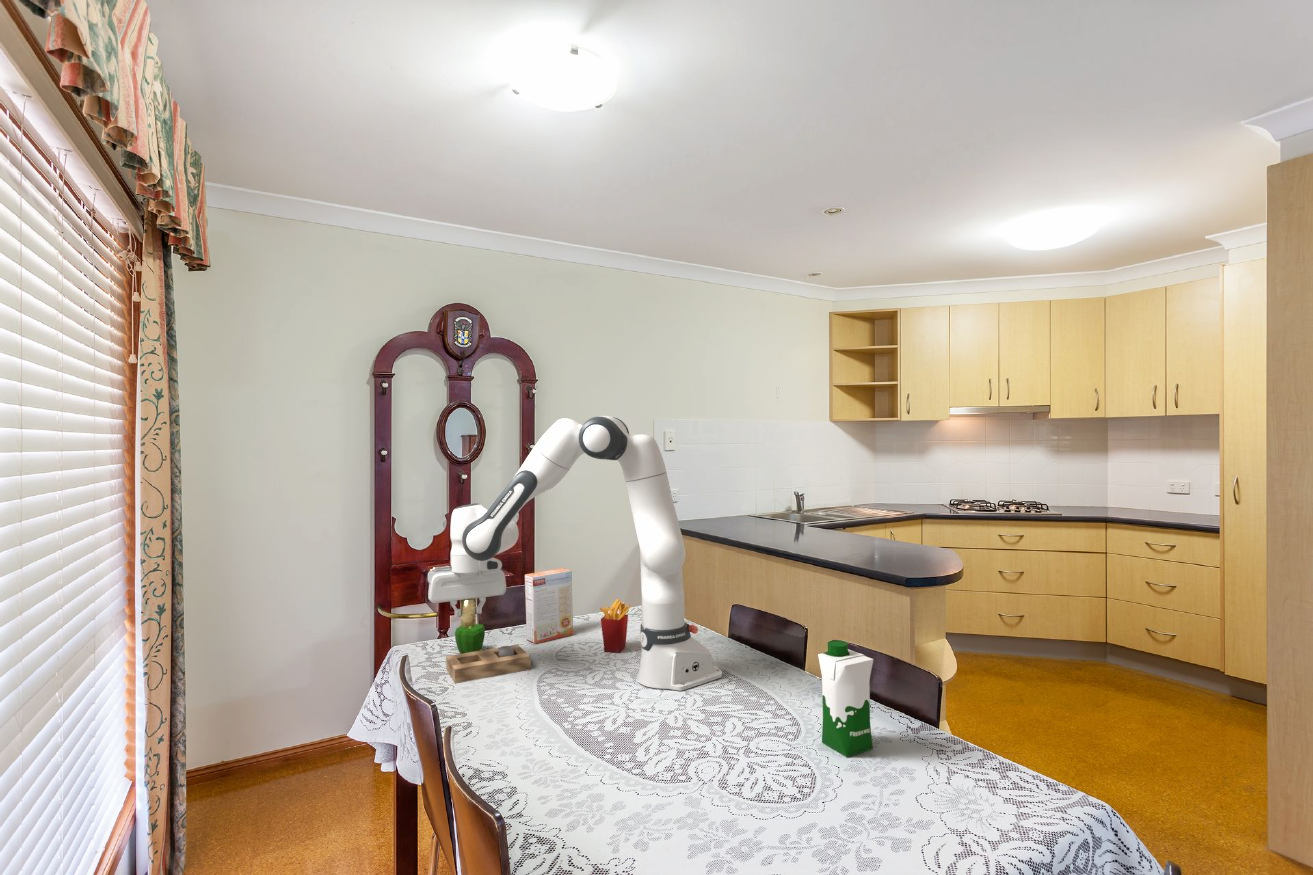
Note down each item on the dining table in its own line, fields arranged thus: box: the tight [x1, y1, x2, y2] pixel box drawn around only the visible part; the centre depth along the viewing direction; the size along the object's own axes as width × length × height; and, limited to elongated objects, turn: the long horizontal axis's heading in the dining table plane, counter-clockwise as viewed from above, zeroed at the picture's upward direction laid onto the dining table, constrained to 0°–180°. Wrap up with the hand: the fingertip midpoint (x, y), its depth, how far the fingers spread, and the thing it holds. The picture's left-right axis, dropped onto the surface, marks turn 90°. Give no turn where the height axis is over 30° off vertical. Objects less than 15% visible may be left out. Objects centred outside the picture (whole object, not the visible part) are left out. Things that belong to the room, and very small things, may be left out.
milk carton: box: [817, 640, 874, 758], centre depth 132 cm, size 9×9×20 cm
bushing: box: [459, 598, 477, 627], centre depth 178 cm, size 4×4×7 cm
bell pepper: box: [454, 623, 486, 654], centre depth 194 cm, size 8×8×10 cm
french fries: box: [599, 598, 632, 654], centre depth 195 cm, size 9×8×15 cm
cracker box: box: [524, 567, 574, 645], centre depth 208 cm, size 14×6×21 cm, turn 128°
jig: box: [445, 644, 531, 684], centre depth 180 cm, size 20×12×5 cm, turn 118°
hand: (468, 615), depth 178 cm, fingers closed on bushing, 4 cm apart
